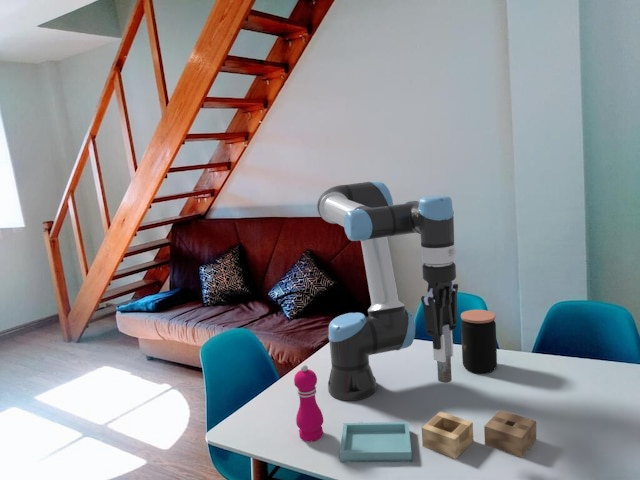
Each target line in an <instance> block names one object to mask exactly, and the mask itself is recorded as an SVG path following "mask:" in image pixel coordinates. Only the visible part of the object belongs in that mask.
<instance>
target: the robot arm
mask: <svg viewBox="0 0 640 480" xmlns="http://www.w3.org/2000/svg"><path fill="white" fill-rule="evenodd" d="M316 208H317V212H318V215H319V217H321V219H322V220H324V222H327V223H329V224H333V225H334V224H338V225H339V226H341V227H343V228H344V233H345V235H346V236H347V239H348V240H350V241H351V242H354V241H355V242H358V241H360V243H361V249H362V255H363V256H362V257H363V262H364V267H365V268H364V269H365V274H366V280H367V285H368V292H369V296H370V304H371V305H370V307H368V309H367V314H368V316H366V315H365V314H364V313H362V312H348V313H343V314H341V315H339V316H336V317H335V318H333V319H332V320H331V321H330V323H329V324H328V340H329V349H330V359H331V369H330V372H329V373H330V374H329V379H328V382H327V388H328V393H329V395H330V396H331V397H333V398H335V399H338V400H342V401H343V400H344V401H357V400H363V399H366V398H369V397H371V396H372V395H374V394H375V392H376V391H377V387H378V386H377V379H376V376H375V375H374V373H373V371H372V368H371V365H370V358H369V357H370V356H373V355H377V354H381V353H389V352H392V351H393V352H394V351H400V350H402V349H407V348H409V347H411V346H412V344H413V342H414V340H415V336H416V322H415V318H414V316H413V313H412V311H410V310H408V309H406V307H405V304H404V303H403V302H401V301H400V300H399V295H398V291H397V285H396V280H395V274H394V267H393V261H392V255H391V249H390V243H389V241H388V237H395V236H396V237H397V236H402V235H404V236H405V235H410V234H419V235H420V246H421V249H420V251H421V262H422V263H423V264H422V266H421V267H422V278H423V281H425V282H426V283H427V294H426V295H422V296H421V298H420V301H421V304H422V306H423V316H424V325H425V333H426V335H427V336H431V337H432V349H433V351H432V352H433V361H436V362H437V361H440V362H445V361H446V358H445V339H444V335H442V322H444V323H448V324H449V334H450V354H451V358H452V357H454V342H453V330H454V331H455V330H457V324H458V290H459V283H453V282H452V281H454V280H455V279H456V278H457V271H456V270H457V269H456V266H457V265H456V263H455V261H456V256H455V255H456V253H457V251H456V250H455V223H454V215H455V214H454V208H453V201H452V198H451V197H450V196H449V195H430V196H429V195H428V196H425V197H421V198H419V201H417V200H410V201H404V202H403V203H401V204H400V203H399V204H394V202H393V197H392V195H391V191H390V190H389V188H388V187H387V185H386V184H385V183H383V182H382V181H366V182H365V181H364V182H357V183H350V184H338V185H335V186H332V187H330V188H328V189H327V190H325V191H323V192H322V194H321V195H320V196H319V198H318V201H317V204H316Z"/></svg>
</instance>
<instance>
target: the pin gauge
mask: <svg viewBox="0 0 640 480" xmlns="http://www.w3.org/2000/svg"><path fill="white" fill-rule="evenodd" d="M442 335H444V339H445V358H446V361H445V362H440V361H436V363H437V364H436V365H437V381H438V382H440V383H442V384H443V383H444V384H447V383H448V384H449V383H451V382H452V380H453V379H452V357H451V354H450V334H449V324H448V323H444V322H442Z"/></svg>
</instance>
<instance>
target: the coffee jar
mask: <svg viewBox="0 0 640 480" xmlns="http://www.w3.org/2000/svg"><path fill="white" fill-rule="evenodd" d="M460 318H461V321H460V329H461V333H460V334H461V354H462V355H461V357H462V358H461V359H462V365H463V368H465V370H466V371H468V372H470V373H473V374H476V375H477V374H479V375H485V374H490V373H492V372H494V371H495V369H496V368H497V366H498V352H497V323H496V321H495V319H496V314H495V313H494V312H493V311H491V310H485V309H470V310H465V311H463V312H461V314H460Z"/></svg>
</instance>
